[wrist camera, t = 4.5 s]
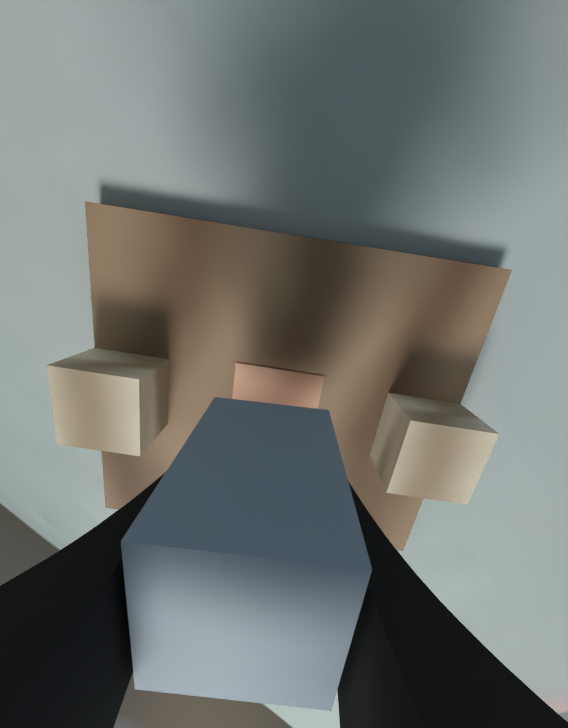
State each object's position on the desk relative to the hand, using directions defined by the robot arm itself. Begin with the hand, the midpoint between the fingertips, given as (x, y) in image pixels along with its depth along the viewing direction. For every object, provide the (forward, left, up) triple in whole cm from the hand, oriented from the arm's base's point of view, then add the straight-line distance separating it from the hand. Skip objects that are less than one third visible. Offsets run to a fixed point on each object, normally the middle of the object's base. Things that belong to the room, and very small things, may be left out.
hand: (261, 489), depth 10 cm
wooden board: (0, 0, -7) cm, 7 cm away
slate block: (0, 0, -2) cm, 2 cm away
